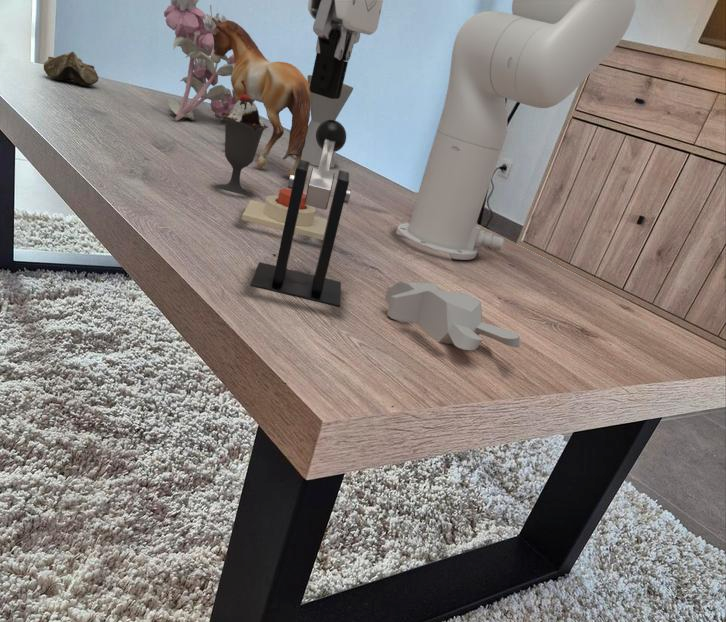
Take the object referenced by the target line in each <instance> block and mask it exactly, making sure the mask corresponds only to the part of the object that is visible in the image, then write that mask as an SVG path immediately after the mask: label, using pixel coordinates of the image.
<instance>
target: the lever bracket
mask: <svg viewBox="0 0 726 622" xmlns="http://www.w3.org/2000/svg"><path fill="white" fill-rule="evenodd" d="M309 168H310V164H309V162H307V161H304V160H299V163H298V165H297V168H296V172H295V174H290V177H289V178H288V184H287V189H291V190H292V191H291V196H290V201H289V205H288V210H287V215H286V220H285V225H284V229H283V230H282V234H281V240H280V244H279V249H278V254H277V259H276V263H275V265H274V264H270V263H265V262H261V261H259V262H258V265H257V267H256V269H255V271H254V275H253V277H252V279H251V281H250V287H253V288H257V289H261V290H266V291H270V292H274V293H279V294H281V295H282V294H283V295H287V296H290V297H295V298H299V299H303V300H307V301H312V302H315V303H320V304H323V305H324V304H325V305H328V306H333V307H337V308H340V307H341V291H342V282H341V281H338V280H335V279H331V278H327V273H328V269H329V266H330V260H331V257H332V253H333V248H334V246H335V245H334V244H335V241H336V236H337V232H338V228H339V225H340V221H341V217H342V213H343V207H344V204H349V203H350V199H351V195H352V189H351V188H349V184H350V172H349V171H345V170H342V169H340V170H339V171H338V174H337V178H336V183H335V187H334V192H333V196H332V200H331V204H330V208H329V212H328V217H327V219H328V220H327V225H326V229H325V233H324V237H323V240H321V241H322V242H321V246H320V250H319V254H318V258H317V263H316V267H315V271H314V274H312V273H311V274H310V273H306V272H303V271H302V272H301V271H298V270H293V269H290V268H288V263H289V260H290V254H291V251H292V245H293V242H294V236H295V233H294V232H295V227H296V223H297V218H298V213H299V209H300V204H301V200H302V195H303V194H304V191H305V185H306V181H307V177H308V172H309Z"/></svg>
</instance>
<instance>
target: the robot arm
mask: <svg viewBox="0 0 726 622" xmlns="http://www.w3.org/2000/svg"><path fill="white" fill-rule="evenodd" d="M383 2H384V0H308V2H307V10H308V12H309V14H310V16H311V17H312V19H314V21H313V25H312V29H313V30H312V31H313V32H314V34H315V35H316V36H317V40H316V47H315V53H316V55H315V59H314V64H313V68H312V74H311V75H312V78H311V83H310V88H309V89H310V92H312V93H315V94H318V95H321V96H324V97H327V98H330V99H339V98H340V95H341V91H342V87H343V84H344V81H345V77H346V72H347V68H348V64H349V61H350V60H351V56H352V53H353V49H354V45H355V44H358V43H359V41H360V39H361V34H363V35H368V36H371V35H372V34H374V33H375V32H376V31H377V29H378V28H379V27H378V26H379V23H380V17H381V13H382V8H383ZM636 5H637V0H512V3H511V13H509V12H503V11H497V10H493V11H492V10H490V11H481V12H479V13H476V14H474V15H472V16H471V17H469V18H468V19H467V20H466V21H465V22H464V23H463V24H462V25H461V27H460V28H459V30H458V32H457V34H456V36H455V39H454V42H453V46H452V52H451V58H450V59H451V60H450V67H449V68H450V69H449V77H448V78H449V79H448V83H447V84H448V85H447V89H446V95H445V98H444V99H445V100H444V104H443V107H442V111H441V113H440V118H439V122H438V125H437V128H436V131H435V134H434V138H433V142H432V145H431V148H430V151H429V155H428V158H427V162H426V166H425V169H424V172H423V176H422V179H421V183H420V186H419V190H418V192H417V195H416V200H415V202H414V205H413V210H412V213H411V217H410V220H409V222H403V223H400V224H398V225H397V227H396V230H395V234H396V235H398V236H402V237H405V238H407V239H409V240H410V241H412V242H415V243H417V244H418V245H421V246H423V247H427V248H429V249H433V250H436V251H439V252H443V253H447V254H449V257H450V258H451V260H458V261H471V260H473V259H475V258H476V257H477V255H478V251H479V250H478V248H481V246H482V247H483V246H484V247H486V248H489V249H492V250H496V251H501V250H502V249H503V246H504V243H505V242H504V241H505V239H504V237H501V236H498V235H494V234H493V233H492V232H488V231H485V230H482V229H481V228H480V226H479V224H478V223H477V222H478V220H479V217H480V214H481V211H482V208H483V206H484V203H485V199H486V196H487V193H488V191H489V188H490V185H491V182H492V179H493V176H494V174H495V173H494V172H495V170H496V167H497V164H498V161H499V157H500V155H501V152H502V150H503V147H504V143H505V140H506V137H507V133H508V111H507V103H506V99H507V100H511V101H513V102H517V103H520V104H522V105H525V106H529V107H534V108H537V109H538V108H539V109H549V108H552V107H555V106H557V105H559V104H561V103H562V102H563V101H564V100H566V98H568V97H569V96H570V95H571V94H572V93H573V92H574V91H575V90H577V88H578V87H579V86H580V85H581V84H582V83H583V82H584V81H585V80H586V79H587V77H588V76H589V75H591V73H593V71H595V69H596V68H598V67H599V65H600V64H601V63H602V62H603V61H604V60H605V59H606V58H607V57H608V56H609V55H610V54H611V52H613V51H614V49H615V48H616V47H617V46H618V44H619V43H620V42H621V40H622V39H623V38H624V37H625V34H626V32H627V31H628V29H629V27H630V24H631V22H632V20H633V17H634V14H635V10H636Z"/></svg>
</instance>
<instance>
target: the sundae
mask: <svg viewBox="0 0 726 622" xmlns="http://www.w3.org/2000/svg"><path fill="white" fill-rule="evenodd" d="M241 83H242V84H243V86H244V87H245V93H244V94H242V95H241V96H240V99H239V101H238V102H237V103H236V104H235V106H234V107H233V108H232V110H231V111H230V113H222V114H221V118H222V119H221V120H222V121H224V130H225V132H224V133H225V134H224V156H225V159H226V161H227V162H228V163H229V164H230V166H231V168H232V173H231V177H230V180H229V181H228V183H227V184H219V185H217V186H216V187H215V188H216V189H219V190H222V191H226V192H230V193H234V194H238V195H242V196H246V197H250V196H251V193H250V192H249V191H248V190H246V189H245V188H243V187H242V185H241V173H242V170H243V169H244V168H247V167H249V165H251V164H252V163H253V162H254V159H255V156H256V154H257V151H258V147H259V145H260V141H261V138H262V136H263V132H264V131H265V130H266V129H267V128H269V127H270V126H269V125H268V126H267V125H266V124H265V123H264V121H263V120H262V118H261V117H260V113H259V110H258V106H257V105H256V103H254V102H255V101H254V102H252V101H251V100H250V99H249V97H248V96H247V95H246V94H247V92H246V86H245V84H244V80H241Z"/></svg>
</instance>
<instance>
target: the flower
mask: <svg viewBox="0 0 726 622" xmlns="http://www.w3.org/2000/svg"><path fill="white" fill-rule="evenodd" d="M199 1H200V0H170V5H168V6H167V7H166V8H165V10H164V11H163V17H165V23H166V26H167V27H169V28H170V29H171V30H172V31H174V35H175V38H174V39H173V44H172V47H173V48H172V49H173V50H174V49H176V48H177V47H180V48H181V51H182V53H184V54H185V55H186V56H185V57H184V58H185V59H186V58H189V64H188V70H187V76H184V77H182V79H180V82H184V83H185V91H184V94H183V97H182V99H181V101H180V102H178V101H176V100H175V99H174V98H168V100H167V101H168V107H169V109H170V111H171V112H173V113H174V114H175V115H176V116H174V119H175V121H176V122H177V121H179V120H181V119H183V118H187V119H189V120H190V121H194V111H193V110H195V109H196V108H197V107H198V106H200V105H201V104H202V103H203V102H204V101H205V100H210V109H211V111H212V112H213V113H214V115H213V117H215V118H216V119H217V120H223V119H222V118H221V114H222V113H230V111H231V110H232V108H233V107H234V106H235V104H236V100H235V92H234V90H233V88H232V89H229V88H227V87H225V85H223V84H218V83H219V76H220V77H231V75H232V71H233V69H234V67H235V60H234V54H232V55H230V56H229V57H228V56H227V55H226V54H225V55H224V56H223V57H222V58H221V60H223V61H225V62H226V64H223V65H222V66H220V67H219V68H218V65H219V63H214V62H213V60H212V59H211V53H212V49H213V43H214V38H213V35H212V34H213V32H214V30H215V28H216V24H215V23H214V21H213V20H212V18H214V19H215V20H216V21H218V20H220V21H221V22H225V21H227V20H228V18H227V17H226V16H224V14H222V15H221V17H220V13H219V12H216V14H215V15H214V16H213V12H212V4H210V5H209V10H210V14H208V13H205V12H204V11H203V10H202V9H200V8H199V7H197V4H198V3H199ZM210 86H212V87H211V88H209V87H210ZM191 88H192V89H193V90H194V91H195V95H194V96H193V97H192V99H190V101H189V102H188V99H189V96H190V92H191Z"/></svg>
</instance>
